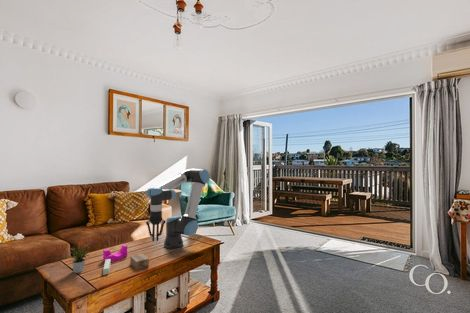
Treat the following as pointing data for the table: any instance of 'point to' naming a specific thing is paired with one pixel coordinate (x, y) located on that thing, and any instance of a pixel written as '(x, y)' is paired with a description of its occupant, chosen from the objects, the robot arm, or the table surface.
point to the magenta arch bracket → (115, 256)
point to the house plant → (78, 259)
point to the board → (107, 266)
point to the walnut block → (139, 261)
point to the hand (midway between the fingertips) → (155, 246)
